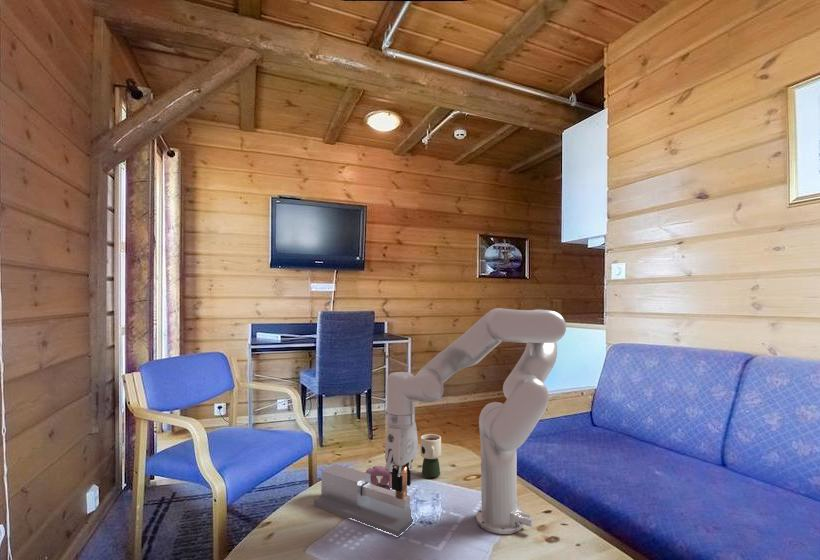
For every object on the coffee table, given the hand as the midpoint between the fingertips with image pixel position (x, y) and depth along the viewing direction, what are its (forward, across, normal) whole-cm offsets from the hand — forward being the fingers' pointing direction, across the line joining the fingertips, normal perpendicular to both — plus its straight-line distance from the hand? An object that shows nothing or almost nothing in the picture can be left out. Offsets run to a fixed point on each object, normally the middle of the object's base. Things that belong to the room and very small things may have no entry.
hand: (401, 486), depth 110 cm
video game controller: (+10, +14, +18) cm, 25 cm away
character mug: (+10, +30, +8) cm, 33 cm away
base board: (+10, 0, +12) cm, 15 cm away
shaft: (+5, 0, +8) cm, 10 cm away
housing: (+8, 0, +20) cm, 21 cm away
